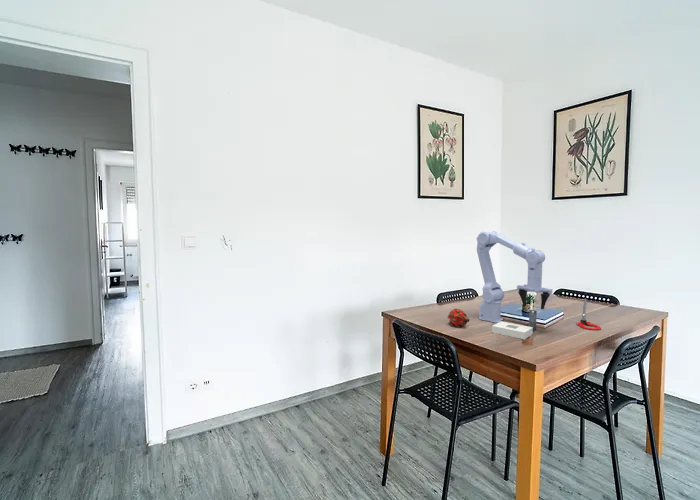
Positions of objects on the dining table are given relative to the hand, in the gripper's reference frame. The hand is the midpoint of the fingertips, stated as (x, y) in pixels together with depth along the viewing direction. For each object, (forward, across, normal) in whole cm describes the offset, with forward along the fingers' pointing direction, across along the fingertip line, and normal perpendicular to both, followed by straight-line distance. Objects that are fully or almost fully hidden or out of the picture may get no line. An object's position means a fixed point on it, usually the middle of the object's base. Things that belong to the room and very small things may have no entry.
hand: (533, 307), depth 169 cm
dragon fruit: (+11, -28, -16) cm, 34 cm away
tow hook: (+11, +18, +22) cm, 30 cm away
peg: (+10, 0, 0) cm, 10 cm away
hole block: (+10, -5, -11) cm, 16 cm away
